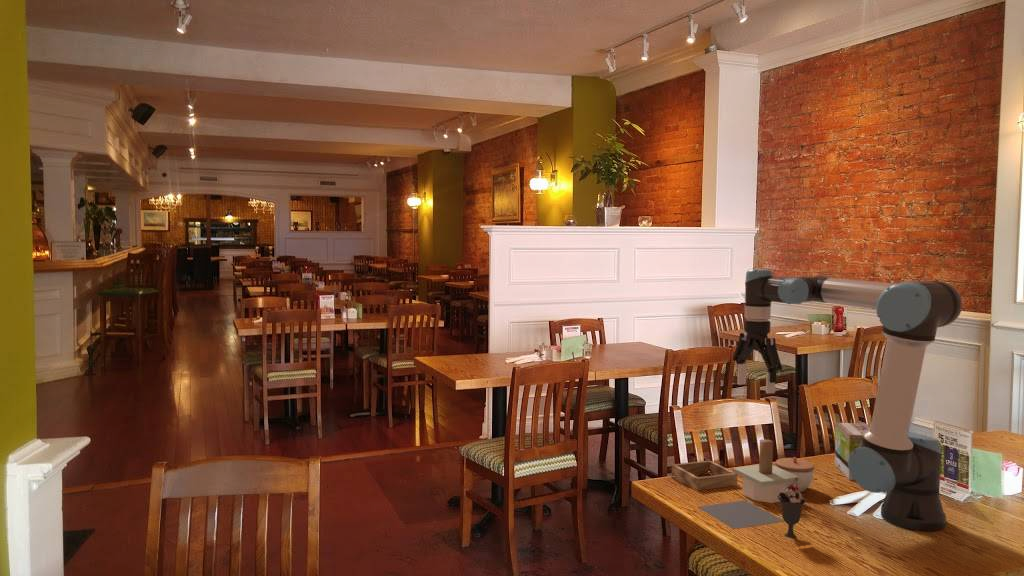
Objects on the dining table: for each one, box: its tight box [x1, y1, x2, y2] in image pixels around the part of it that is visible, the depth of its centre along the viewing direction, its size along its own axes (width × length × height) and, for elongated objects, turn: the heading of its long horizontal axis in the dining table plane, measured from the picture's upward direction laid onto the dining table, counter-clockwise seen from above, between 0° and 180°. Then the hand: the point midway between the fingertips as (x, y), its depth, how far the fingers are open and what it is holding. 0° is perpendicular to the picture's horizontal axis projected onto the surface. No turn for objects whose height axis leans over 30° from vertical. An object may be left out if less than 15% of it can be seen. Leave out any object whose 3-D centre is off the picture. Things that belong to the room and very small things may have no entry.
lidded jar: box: [775, 456, 815, 493], centre depth 215 cm, size 11×11×9 cm
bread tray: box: [671, 460, 738, 491], centre depth 220 cm, size 14×14×4 cm
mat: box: [697, 499, 785, 530], centre depth 193 cm, size 16×16×1 cm
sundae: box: [778, 478, 807, 539], centre depth 179 cm, size 7×7×15 cm
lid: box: [732, 438, 800, 486], centre depth 207 cm, size 13×13×10 cm
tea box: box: [834, 422, 871, 481], centre depth 229 cm, size 15×10×15 cm, turn 172°
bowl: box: [742, 477, 788, 504], centre depth 208 cm, size 12×12×6 cm
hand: (755, 388), depth 220 cm, fingers open, 13 cm apart
